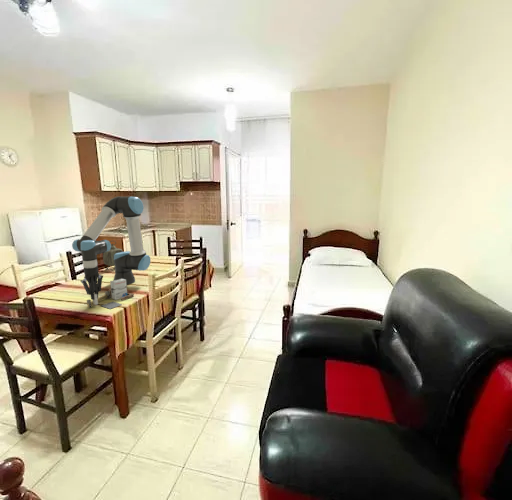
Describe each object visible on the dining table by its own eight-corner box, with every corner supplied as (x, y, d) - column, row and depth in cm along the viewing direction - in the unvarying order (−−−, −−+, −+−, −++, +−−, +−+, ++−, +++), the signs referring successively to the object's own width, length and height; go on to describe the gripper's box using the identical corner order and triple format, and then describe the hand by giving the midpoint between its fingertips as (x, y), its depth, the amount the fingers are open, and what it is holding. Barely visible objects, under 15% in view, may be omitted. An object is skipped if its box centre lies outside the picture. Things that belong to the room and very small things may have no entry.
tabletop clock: (119, 266, 275) (117, 238, 270) (125, 267, 270) (123, 240, 265) (104, 269, 264) (101, 241, 258) (109, 271, 258) (107, 242, 253)
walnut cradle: (119, 292, 208) (119, 285, 207) (133, 296, 201) (133, 289, 199) (102, 298, 197) (101, 291, 196) (116, 302, 190) (115, 295, 189)
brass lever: (110, 296, 199) (110, 290, 198) (90, 307, 180) (89, 301, 179) (107, 296, 199) (106, 289, 198) (86, 307, 181) (85, 300, 180)
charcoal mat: (112, 301, 191) (112, 301, 191) (122, 304, 187) (122, 304, 187) (101, 306, 184) (101, 305, 184) (110, 309, 180) (110, 308, 180)
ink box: (123, 294, 204) (122, 278, 201) (127, 296, 201) (126, 279, 198) (111, 298, 197) (109, 281, 195) (115, 300, 194) (113, 282, 192)
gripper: (97, 263, 185) (101, 299, 191) (76, 268, 175) (81, 306, 180) (104, 264, 182) (109, 301, 187) (83, 270, 171) (88, 309, 176)
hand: (95, 304), depth 183 cm, fingers closed
